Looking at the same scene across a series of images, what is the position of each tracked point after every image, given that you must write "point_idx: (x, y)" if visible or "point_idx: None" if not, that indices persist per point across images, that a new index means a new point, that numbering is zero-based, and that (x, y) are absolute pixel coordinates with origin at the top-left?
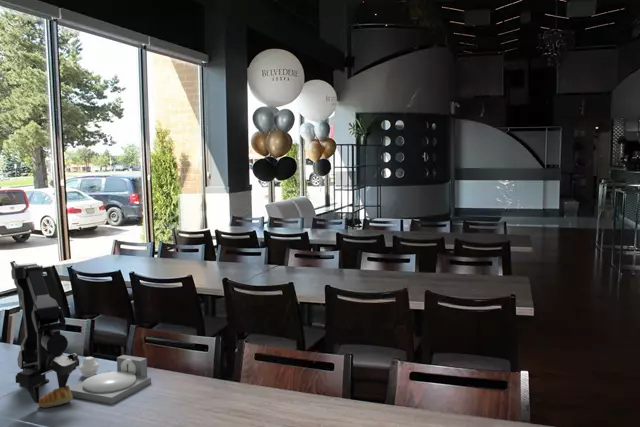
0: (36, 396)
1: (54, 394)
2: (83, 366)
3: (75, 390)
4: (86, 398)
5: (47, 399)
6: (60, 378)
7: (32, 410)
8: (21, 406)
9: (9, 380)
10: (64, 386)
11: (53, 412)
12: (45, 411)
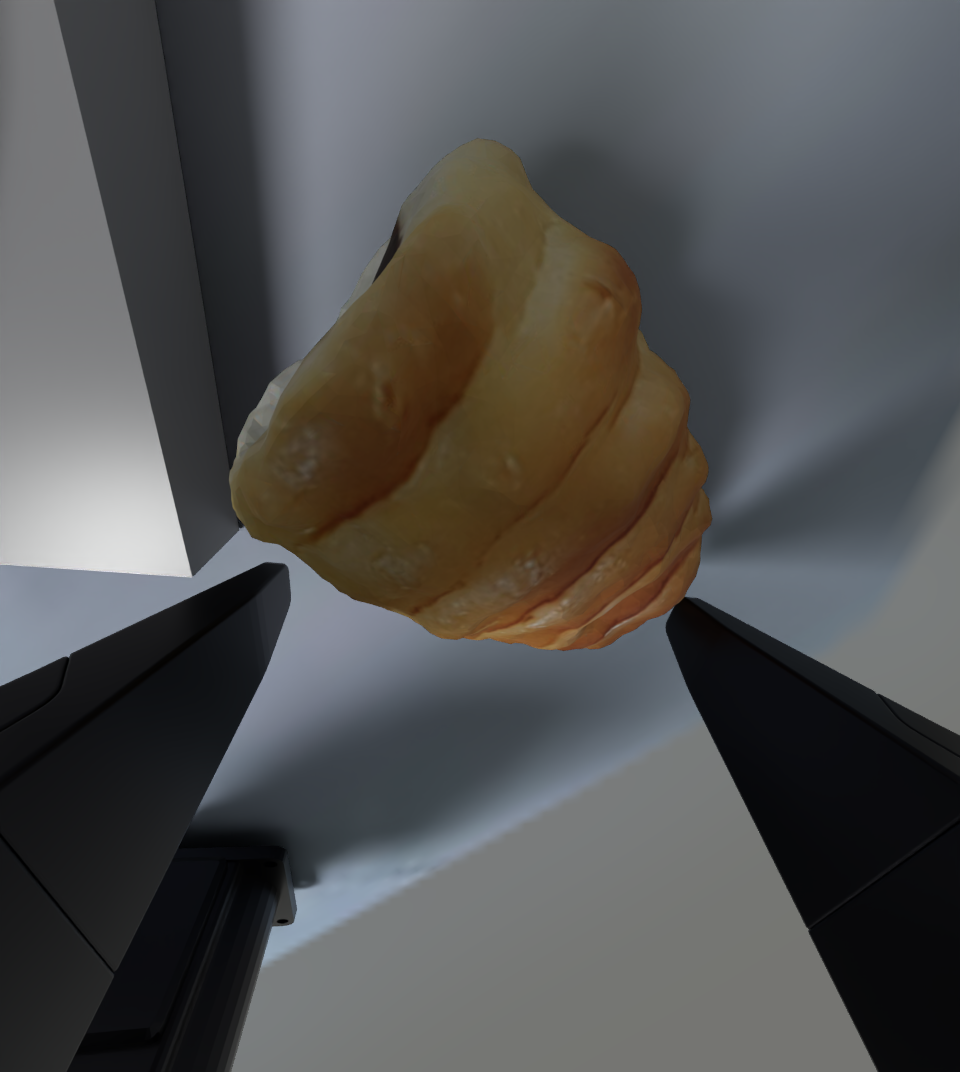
0: (809, 657)
1: (650, 488)
2: None
3: (122, 393)
4: (147, 20)
5: (705, 519)
6: (147, 813)
7: None
8: (593, 706)
9: None
10: (218, 599)
11: (752, 312)
12: (710, 443)
